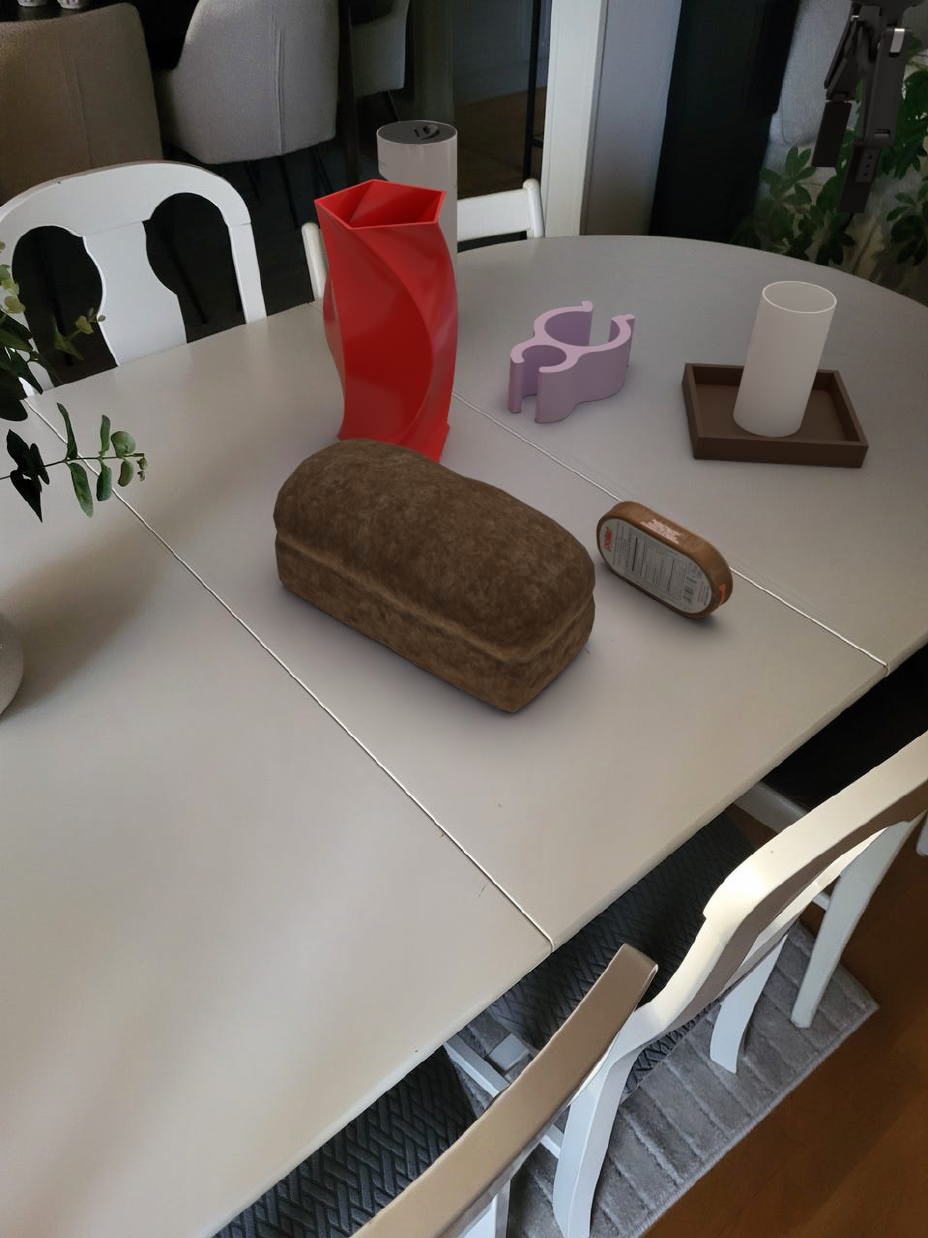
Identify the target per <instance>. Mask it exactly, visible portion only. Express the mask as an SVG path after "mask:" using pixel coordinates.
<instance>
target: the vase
mask: <svg viewBox="0 0 928 1238" xmlns="http://www.w3.org/2000/svg"><path fill="white" fill-rule="evenodd" d="M445 194H446V191H442V190H436V189H429V188H423V187H418V186H412V185H406V184H400V183H394V182H389V181H383V180H379V179H376V178H374V179H373V178H372V179H370V180H369V179H368V180H367V181H364V182H361V183H358V184H356V185H353V186H350V187H347V188H344V189H342V190H339V191H336V192H334V193H331V194H328V195H325V196H323V197H320V198H317V199H314V200H313V202H314V206H315V210H316V213H317V214H316V215H317V219H318V223H319V227H320V232H321V235H322V240H323V245H324V251H325V254H326V258H327V263H328V268H327V273H326V276H325V282H324V289H323V297H322V298H323V299H322V321H323V329H324V334H325V339H326V343H327V346H328V349H329V351H330V354H331V357H332V359H333V363H334V365H335V368H336V371H337V374H338V377H339V381H340V385H341V386H340V387H341V391H342V397H343V416H342V421H341V424H340V428H339V430H338V432H337V434H336V437H337V438H338V440H339V441H343V440H347V439H351V438H369V439H373V440H377V441H381V442H385V443H390V444H395V445H400V446H403V447H406V448H409V449H412V450H415V451H417V452H419V453H421V454H423V455H425V456H426V457H428V458H430V459H432V460H434V461H436V462H437V463H439V464H440V462H441V461H440V460H441V457H442V455H443V454H442V453H443V450H444V447H445V445H446V444H445V443H446V440H447V438H448V435H449V432H450V430H451V429H450V428H451V426H450V425H449V423H448V419H449V413H450V407H451V402H452V395H453V389H454V388H453V387H454V380H455V371H456V363H457V349H458V333H459V332H458V329H459V308H458V307H459V306H458V307H457V292H456V283H455V276H454V270H453V265H452V261H451V256H450V253H449V249H448V246H447V243H446V240H445V238H444V235H443V233H442V230H441V227H440V223H439V214H440V209H441V206H442V203H443V200H444V197H445Z"/></svg>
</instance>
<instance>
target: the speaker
mask: <svg viewBox="0 0 928 1238" xmlns="http://www.w3.org/2000/svg"><path fill="white" fill-rule="evenodd" d="M376 141H377V144H376V145H377V160H378V162H377V163H378V180H383V181H389V182H394V183H400V184H406V185H412V186H418V187H423V188H429V189H436V190H442V191H446V194H445V197H444V200H443V203H442V206H441V209H440V214H439V223H440V227H441V230H442V233H443V235H444V238H445V240H446V243H447V246H448V249H449V253H450V256H451V261H452V265H453V270H454V276H455V283H456V292H457V307H459V304H458V303H459V299H458V296H459V295H458V294H459V293H458V292H459V291H458V290H459V289H458V131H457V129H456V128H455V127H454V126H452V125H450V124H447V123H443V122H437V121H434V120H424V119H423V120H422V119H421V120H402V121H396V122H391V123H388V124H385V125H383V126H381V127H380V128H379V129H377V131H376Z"/></svg>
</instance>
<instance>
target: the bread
mask: <svg viewBox="0 0 928 1238" xmlns="http://www.w3.org/2000/svg"><path fill="white" fill-rule="evenodd" d="M272 519H273V523H274V527H275V530H276V534H275V539H274V549H275V560H276V568H277V573H278V574H277V575H278V580H279V581H280V582H281V584H282V585H283V587H284V588H286V589H288V590H289V591H292V592H293V593H295V594H297V595H298V596H300V597H301V598H303V599H305V600H306V601H308V602H309V603H311V604H312V605H314V606H316V607H318V608H319V609H320V610H322V611H323V612H325V613H327V614H329V615H330V616H332V617H334V618H335V619H337V620H339V621H340V622H342V623H343V624H346V625H347V626H350V627H352V628H353V629H355V630H357V631H358V632H360V633H362V634H364V635H366V636H367V637H370V638H371V639H373V640H375V641H377V642H379V643H381V644H382V645H384V646H386V647H388V648H390V649H391V650H393V651H394V652H396V653H397V654H399V655H401V657H404V658H405V659H406V660H408V661H410V662H412V663H413V664H415V665H416V666H417V667H419V668H421V669H423V670H425V671H427V672H429V673H431V674H433V675H435V676H436V677H438V678H440V679H442V680H444V681H445V682H447V683H449V684H450V685H452V686H453V687H456V688H458V689H460V691H463V692H465V693H467V694H469V695H471V696H472V697H474V698H476V699H479V700H481V701H483V702H485V703H486V704H489V705H491V706H493V707H495V708H497V709H499V710H502V711H506V712H509V713H512V714H514V713H515V712H517V711H518V710H520V709H521V708H523V707H524V706H526V704H528V703H529V702H530V701H531V700H533V699H534V698H535V697H536V696H538V694H539V693H541V692H542V690H544V688H546V687H547V686H548V685H549V684H550V683H551V682H552V681H553V680H554V679H555V678H556V677H557V676H558V675H559V674H560V673H561V672H562V671H563V670H564V669H565V668H566V667H567V666H568V665H569V664H570V663H571V662H572V661H573V659H574V658H575V657H576V656H577V655H578V654H579V652H580V651H581V649H582V648H583V647H584V646H585V644H587V642H588V641H589V638H590V636H591V634H592V631H593V628H594V624H595V623H594V622H595V619H596V602H595V596H594V589H595V588H596V587H595V586H596V565H595V563H594V561H593V559H592V558H591V555H590V554H589V552H588V550H587V549H586V547H585V545H584V544H582V543H581V542H580V541H579V540H578V539H577V538H576V537H575V536H574V535H573V534H572V533H571V532H570V531H569V530H567V529H566V528H565V527H564V526H562V525H561V524H560V523H559V522H557V521H556V520H555V519H553V518H551V517H550V516H548V515H546V514H544V512H542V511H540V510H538V509H536V508H535V507H533V506H531V505H529V504H527V503H525V502H524V501H522V500H520V499H518V498H517V497H515V496H513V495H512V494H510V493H509V492H507V491H505V490H504V489H502V488H500V487H497V486H494V485H492V484H489V483H487V482H484V481H482V480H478V479H475V478H472V477H468V476H464V475H462V474H460V473H458V472H456V471H454V470H451V469H450V468H448V467H446V466H445V465H443V464H441V463H440V462H439V463H437V462H436V461H434V460H432V459H430V458H428V457H426V456H425V455H423V454H421V453H419V452H417V451H415V450H412V449H409V448H406V447H403V446H400V445H395V444H390V443H385V442H381V441H377V440H373V439H369V438H351V439H347V440H343V441H340V440H339V441H336V442H334V443H331V444H330V445H327V446H326V447H324V448H322V449H320V450H318V451H316V452H314V453H312V454H310V455H309V456H308V457H306V458H305V459H304V460H302V461H301V463H300V464H299V465H298V466H296V468H295V469H294V470H293V471H292V473H290V475H289V476H288V477H287V479H286V480H285V481H284V483H283V484H282V486H281V487H280V489H279V490H278V492H277V497H276V500H275V504H274V508H273V512H272Z"/></svg>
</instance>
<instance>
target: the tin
mask: <svg viewBox="0 0 928 1238" xmlns="http://www.w3.org/2000/svg"><path fill="white" fill-rule="evenodd" d="M595 537H596V546H597V550H598V553H599V554H600V556H601V558H602V560H603V561H604V563H605V564H606V565H607V566H608V567H609V569H610V570H611V571H612V572H613V573H614V574H615V575H617V576H618V577H619V578H621V579H622V580H624V581H626V582H628V583H629V584H631V585H632V586H634V587H636V588H637V589H639V590H640V591H642V592H643V593H645V594H647V595H648V596H650V597H652V598H653V599H655V600H656V601H658V602H660V603H662V604H663V605H664V606H666V607H668V608H670V609H671V610H673V611H674V612H675V613H678V614H680V615H681V616H685V617H688V618H692V619H699V618H704V617H707V616H709V615H710V614H712V613H714V612H715V611H716V610H718V608H720V606H723V605H724V604H726V603H727V602H728V600H729V599H730V598H731V596H732V594H733V590H734V579H733V574H732V571H731V567H730V566H729V563H728V562H727V559H726V558H725V557H724V556H723V554H722V553H721V552H720V551H719V550H718V549H717V547H715V545H713V544H712V543H711V542H710V541H708V540H706V539H705V538H703V537H701V536H700V535H698V534H696V533H694V532H692V531H690V530H689V529H688V528H686V527H683V526H682V525H680V524H678V523H676V522H675V521H673V520H671V519H670V518H668V517H665V516H664V515H662V514H660V513H658V512H657V511H655V510H653V509H652V508H650V507H648V506H646V505H644V504H643V503H641V502H637V501H632V500H625V501H620V502H618V503H617V504H615V505H614V506H613V507H612V508H611V509H610V510H608V511H607V512H606V513H605V514H603V516H601V517H600V519H599V520H598V521H597V524H596V529H595Z"/></svg>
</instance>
